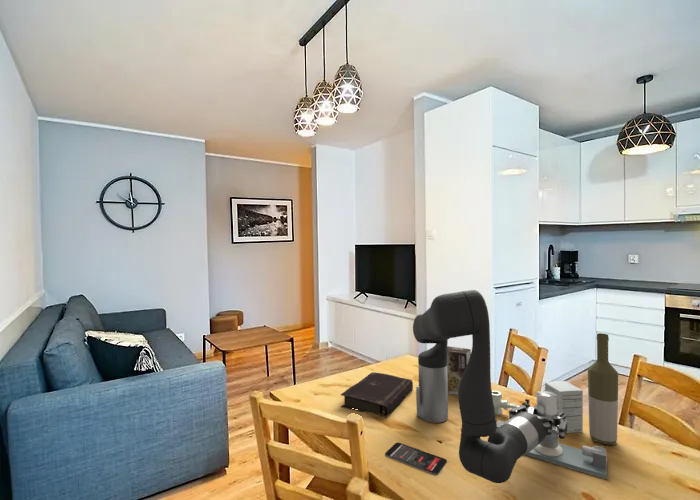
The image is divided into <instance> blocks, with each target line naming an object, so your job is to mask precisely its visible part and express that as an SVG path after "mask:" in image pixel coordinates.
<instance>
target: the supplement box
mask: <svg viewBox="0 0 700 500" xmlns="http://www.w3.org/2000/svg"><path fill="white" fill-rule="evenodd" d="M544 391H548V392H552V393H555V394H556V395H558V413H560V412H563V413H564V415H565V420H567V433H566V434H573V433H582V432H583V431H584V428H583V426H584V425H583V422H584V421H583V418H584V417H583V416H584V415H583V413H584V411H583V410H584V408H583V407H584V405H583V402H584V400H583V399H584V398H583V396H584V394H583V393H584V391H583V389H581V388H579V387H577V386H575V385H574V384H572V383H570V382H569V381H567V380H560V381H559V380H558V381H546V382H544Z"/></svg>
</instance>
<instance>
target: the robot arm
mask: <svg viewBox="0 0 700 500" xmlns="http://www.w3.org/2000/svg"><path fill="white" fill-rule="evenodd" d="M490 329H491V328H490V315H489V311H488V306H487V302H486V300H485V298H484V296H483V294H482V293H481V292H480V291H478V290H475V289H469V290H464V291H455V292H449V293H444V294H440V295H437V296H435V298H433V300H432V301H431V304H430V307H429V308H428V309H427V310H426V311H425V312H423V314H417V315H416V316H415V317H414V320H413V324H412V331H413V336H414V339H415V340H416V342H418V343H420V344H435V345H434V346H433V347H431V348H429V349H427V350H424V351H421V352H420V353H419V354H418V357H417V360H418V361H417V363H418V365H417V366H418V371H417V372H418V385H417V386H416V387H415V391H416V393H415V396H416V397H415V398H416V400H415V402H416V403H415V404H416V417H419V418H420V419H422V420H423V421H424V422H427V423H433V424H439V423H444V422H446V421H447V420H448V419H449V393H448V373H447V347H448V340H449V339H452V338H453V339H455V338H459V337H465V336H471V337H472V345H471V346H472V347H471V355H470V358H469V361H468V364H467V366H466V369H465V371H464V373H463V375H462V378H461V380H460V384H459V388H458V395H457V397H458V398H457V400H458V406H459V412H460V418H461V428H460V429H461V431H460V440H459V448H458V457H459V461H460V463H461V465H462V467H463V469H465V471H466V472H469V473H471V474H473V475H475V476H477V477H480V478H482V479H484V480H487V481H489V482H491V483H494V484H502V483H506V482H507V481H509V479H510V478H511V475H512V473H513V470H514V468H515V465H516V463H517V461H518V460H519V459H520V458H521V457H523V456H524V454H526V453H528V452H530V451H531V450H532V449H534V448H535V447H536V446H537V445H539V444H540V443H541V442H542V441H543V440H544V439H545V437H546V436H547V435H551V434H552V433H553V434H557V435H558V439H560V440H565V438H566V435H567V434H568V433H567V420H565V415H564V413H563V412H560V413H558V414H557V415H556V416H553V417H552V416H550V415H549V416H544V417H542V416H538V415H536V414H537V405H534V406H532V407H531V406H530V407H529V409H528V408H526V406H520V405H519V406H520V407H516V408H513V409H512V408H510V409H509V411H508V420H506V421H504V422H505V423H504V424H503V425H502V426H500V427H499V428H497V418H496V414H495V410H494V403H493V398H492V391H493V390H492V381H491V334H490V333H491V330H490ZM554 422H555V424H554ZM496 428H497V429H496ZM484 437H485V438H486V437H488V438H487V441H486V440H484V439H482V438H484Z"/></svg>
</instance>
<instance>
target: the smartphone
mask: <svg viewBox="0 0 700 500" xmlns="http://www.w3.org/2000/svg"><path fill="white" fill-rule="evenodd" d="M384 456H385V457H387V458H389V459H391V460H394V461H396V462H400V463H402V464H404V465H407V466H409V467H413V468H415V469H417V470H420V471H424V472H425V473H428V474H431V475H434V476H438V475H439V474H440V473H441V472H442V470H443V469H444V467H445V465H446V464H447V463H448V460H447V458H444V457H441V456H438V455H435V454H432V453H431V452H430V453H429V452H427V451H424V450H421V449H419V448H415V447H413V446H409V445H406V444H404V443H401V442H395V443H394V444H393V445H392V446H391V447H390V448H389V449H387V450H386V452H384Z"/></svg>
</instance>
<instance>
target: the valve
mask: <svg viewBox="0 0 700 500" xmlns="http://www.w3.org/2000/svg"><path fill="white" fill-rule="evenodd" d="M492 398H493V403H494V410H495V416H496V415H497V416H499V415H503V410H505V411H508V409H509V410H510V409H513V408H516V407H520V406H526V408H528V409H529V407H531V405H530V402H531V400H530V399H528V398H525V399H524V401H525V402H522V403H521V404H519V405H518V404H517V403H511V402H509V400H507V399H504V400H503V395H502V393H501V392H500V391H498V390H492Z"/></svg>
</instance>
